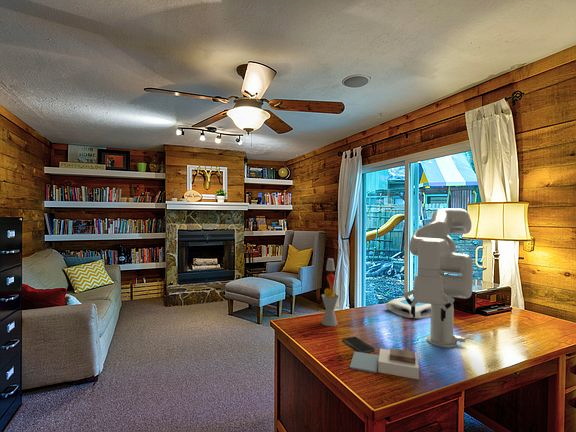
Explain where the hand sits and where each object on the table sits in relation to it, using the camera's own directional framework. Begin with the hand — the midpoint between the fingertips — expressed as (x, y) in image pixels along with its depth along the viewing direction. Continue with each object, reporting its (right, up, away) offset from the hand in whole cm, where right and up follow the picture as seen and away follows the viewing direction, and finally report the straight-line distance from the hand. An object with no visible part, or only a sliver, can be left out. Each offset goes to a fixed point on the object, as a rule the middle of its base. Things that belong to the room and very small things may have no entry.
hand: (427, 318), depth 114 cm
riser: (-10, -20, +4) cm, 23 cm away
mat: (-22, -20, +8) cm, 31 cm away
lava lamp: (-30, -20, +51) cm, 62 cm away
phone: (-21, -21, +23) cm, 38 cm away
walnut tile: (-8, -16, +3) cm, 19 cm away
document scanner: (+26, -21, +74) cm, 81 cm away
